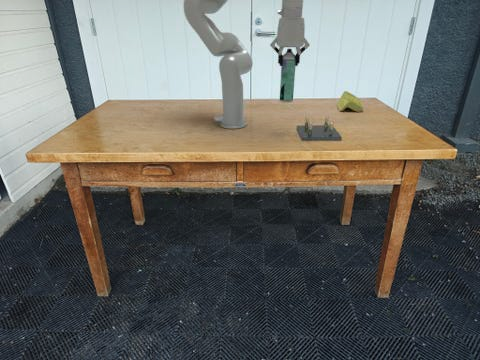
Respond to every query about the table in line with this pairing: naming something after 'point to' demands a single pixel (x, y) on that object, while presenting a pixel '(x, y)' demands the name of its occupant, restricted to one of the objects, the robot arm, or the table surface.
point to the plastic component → (349, 102)
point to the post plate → (318, 131)
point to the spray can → (287, 76)
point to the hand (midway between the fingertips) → (288, 65)
